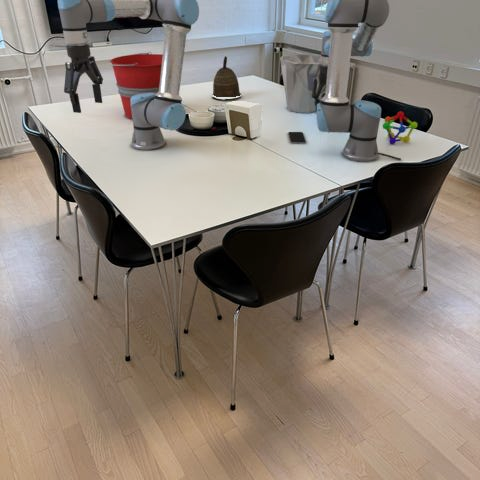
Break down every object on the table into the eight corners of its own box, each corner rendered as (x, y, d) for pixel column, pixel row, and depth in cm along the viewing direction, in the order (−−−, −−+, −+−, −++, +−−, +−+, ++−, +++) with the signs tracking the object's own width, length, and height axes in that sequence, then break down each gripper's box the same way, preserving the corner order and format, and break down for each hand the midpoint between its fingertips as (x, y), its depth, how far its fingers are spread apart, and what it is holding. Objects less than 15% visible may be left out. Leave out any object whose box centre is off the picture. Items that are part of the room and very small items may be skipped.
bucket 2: (304, 119, 242) (309, 65, 227) (267, 107, 261) (268, 57, 246) (338, 109, 259) (345, 58, 244) (301, 99, 278) (304, 51, 263)
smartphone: (290, 142, 209) (288, 131, 222) (290, 143, 209) (288, 133, 222) (306, 142, 209) (302, 131, 221) (305, 143, 209) (302, 133, 222)
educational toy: (377, 146, 209) (379, 114, 202) (384, 138, 219) (386, 107, 211) (411, 149, 202) (415, 116, 195) (417, 141, 212) (420, 109, 204)
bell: (227, 105, 294) (202, 96, 282) (238, 66, 289) (213, 55, 277) (243, 108, 280) (217, 98, 268) (255, 66, 275) (229, 55, 263)
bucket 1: (124, 105, 264) (117, 51, 248) (182, 105, 263) (179, 51, 247) (107, 122, 235) (98, 62, 219) (173, 123, 234) (169, 63, 218)
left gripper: (64, 50, 138) (77, 117, 149) (107, 39, 158) (115, 99, 170) (43, 49, 140) (58, 115, 151) (88, 38, 160) (98, 98, 172)
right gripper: (342, 63, 227) (337, 108, 239) (307, 64, 223) (303, 110, 235) (348, 65, 220) (342, 112, 232) (312, 67, 217) (308, 114, 229)
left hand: (88, 107), depth 161 cm, fingers open, 13 cm apart
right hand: (322, 111), depth 234 cm, fingers closed on can, 6 cm apart
